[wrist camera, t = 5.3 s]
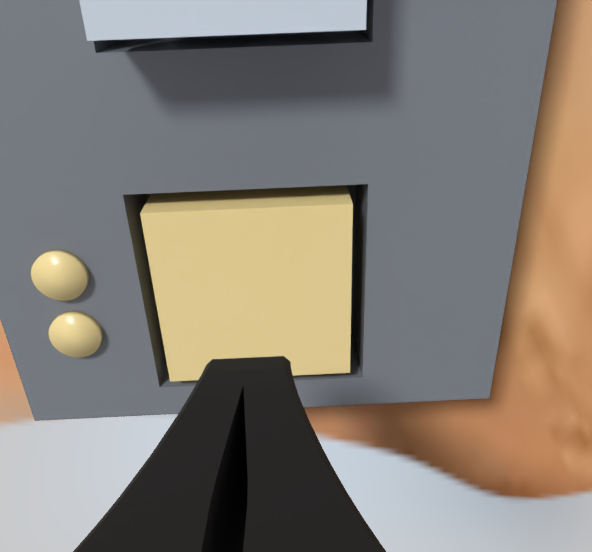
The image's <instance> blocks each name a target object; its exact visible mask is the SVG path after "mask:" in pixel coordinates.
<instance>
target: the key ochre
mask: <svg viewBox="0 0 592 552" xmlns="http://www.w3.org/2000/svg"><path fill="white" fill-rule="evenodd" d="M140 216H141V222H142V227H143V233H144V238H145V244H146V250H147V255H148V261H149V266H150V272H151V278H152V283H153V289H154V294H155V300H156V306H157V311H158V317H159V322H160V328H161V334H162V339H163V345H164V350H165V356H166V362H167V367H168V373H169V378H170V382H171V381H191V380H199V378H200V376H201V374H202V372H203V371H204V369H205V367H206V365H207V364H208V363H209V362H210V361H211V360H212V359H228V358H251V357H273V356H284V357H286V358H287V359H288V360H289V361H290V363H291V370H292V375H293V376H294V375H314V374H335V373H350V348H351V287H352V226H353V203H352V200H351V197H350V194H349V191H348V188H347V185H335V186H313V187H290V188H267V189H244V190H221V191H198V192H175V193H152V194H151V195H150V196H149V198H148V200H147V202H146V204H145V205H144V207H143V209H142V211H141V213H140Z"/></svg>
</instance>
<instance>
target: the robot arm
mask: <svg viewBox="0 0 592 552" xmlns="http://www.w3.org/2000/svg"><path fill="white" fill-rule="evenodd" d="M73 552H386V551H385V549H384V548H383V547H382V545H381V544H380V542H379V541H378V539H377V538H376V537H375V535H374V534H373V532H372V531H371V529H370V528H369V526H368V525H367V524H366V522H365V521H364V519H363V517H362V516H361V514H360V513H359V511H358V509H357V508H356V506H355V505H354V503H353V502H352V500H351V498H350V497H349V495H348V493H347V492H346V490H345V488H344V487H343V485H342V483H341V481H340V480H339V478H338V476H337V474H336V473H335V471H334V469H333V467H332V466H331V464H330V462H329V460H328V458H327V456H326V454H325V452H324V451H323V449H322V447H321V444H320V442H319V440H318V438H317V436H316V434H315V432H314V430H313V428H312V426H311V424H310V422H309V419H308V417H307V415H306V412H305V410H304V408H303V405H302V402H301V400H300V397H299V395H298V392H297V389H296V386H295V382H294V379H293V375H292V370H291V363H290V361H289V360H288V359H287V358H286V357H284V356H273V357H251V358H228V359H212V360H211V361H210V362H209V363H208V364H207V365H206V367H205V369H204V371H203V372H202V374H201V376H200V378H199V380H198V382H197V384H196V385H195V387H194V389H193V391H192V392H191V394H190V396H189V397H188V399H187V401H186V402H185V404H184V406H183V407H182V409H181V411H180V412H179V414H178V415H177V417H176V418H175V420H174V422H173V423H172V425H171V426H170V428H169V429H168V431H167V432H166V434H165V435H164V437H163V438H162V440H161V441H160V443H159V444H158V446H157V447H156V449H155V450H154V451H153V453H152V454H151V456H150V457H149V458H148V460H147V461H146V462H145V464H144V465H143V467H142V468H141V469H140V470H139V472H138V473H137V474H136V476H135V477H134V478H133V480H132V481H131V482H130V484H129V485H128V487H127V488H126V489H125V490H124V492H123V493H122V494H121V496H120V497H119V498H118V499H117V501H116V502H115V503H114V504H113V506H112V507H111V508H110V509H109V511H108V512H107V513H106V514H105V515H104V517H103V518H102V519H101V520H100V521H99V523H98V524H97V525H96V526H95V527H94V529H93V530H92V531H91V532H90V533H89V534H88V536H87V537H86V538H85V539H84V540H83V541H82V542H81V543H80V545H79V546H78V547H77V548H76V549H75V550H74V551H73Z"/></svg>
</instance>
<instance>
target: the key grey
mask: <svg viewBox="0 0 592 552" xmlns="http://www.w3.org/2000/svg"><path fill="white" fill-rule="evenodd" d="M79 2H80V7H81V12H82V17H83V22H84V27H85V32H86V37H87V41H97V40H122V39H148V38H173V37H198V36H224V35H249V34H274V33H300V32H325V31H350V30H366V11H367V0H79Z"/></svg>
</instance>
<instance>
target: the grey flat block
mask: <svg viewBox="0 0 592 552" xmlns="http://www.w3.org/2000/svg"><path fill="white" fill-rule="evenodd" d="M556 4H557V0H367V11H366V30H350V31H325V32H300V33H274V34H249V35H224V36H198V37H173V38H148V39H122V40H97V41H87V37H86V32H85V27H84V22H83V17H82V12H81V7H80V2H79V0H0V319H1V322H2V325H3V328H4V331H5V334H6V337H7V340H8V343H9V346H10V349H11V352H12V355H13V358H14V361H15V364H16V367H17V370H18V372H19V375H20V378H21V381H22V384H23V387H24V390H25V393H26V396H27V399H28V402H29V405H30V408H31V411H32V414H33V417H34V420H35V421H39V420H59V419H79V418H99V417H119V416H140V415H160V414H179V412H180V411H181V409H182V407H183V406H184V404H185V402H186V401H187V399H188V397H189V396H190V394H191V392H192V391H193V389H194V387H195V385H196V384H197V382H198V380H191V381H171V382H170V378H169V373H168V367H167V362H166V356H165V350H164V345H163V339H162V334H161V328H160V322H159V317H158V311H157V306H156V300H155V294H154V289H153V283H152V278H151V272H150V266H149V261H148V255H147V250H146V244H145V238H144V233H143V227H142V222H141V216H140V213H141V211H142V209H143V207H144V205H145V204H146V202H147V200H148V198H149V196H150V195H151V194H152V193H175V192H198V191H221V190H244V189H267V188H290V187H313V186H335V185H347V188H348V191H349V194H350V197H351V200H352V203H353V226H352V287H351V348H350V373H335V374H314V375H294V376H293V379H294V382H295V386H296V389H297V392H298V395H299V397H300V400H301V402H302V405H303V407H321V406H341V405H361V404H382V403H402V402H422V401H442V400H462V399H482V398H489V397H490V391H491V385H492V379H493V373H494V368H495V362H496V356H497V350H498V344H499V338H500V332H501V327H502V321H503V315H504V309H505V303H506V297H507V291H508V285H509V280H510V274H511V268H512V262H513V256H514V250H515V244H516V238H517V233H518V227H519V221H520V215H521V209H522V203H523V197H524V191H525V186H526V180H527V174H528V168H529V162H530V156H531V150H532V145H533V139H534V133H535V127H536V121H537V115H538V109H539V103H540V98H541V92H542V86H543V80H544V74H545V68H546V62H547V56H548V51H549V45H550V39H551V33H552V27H553V21H554V15H555V9H556Z"/></svg>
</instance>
